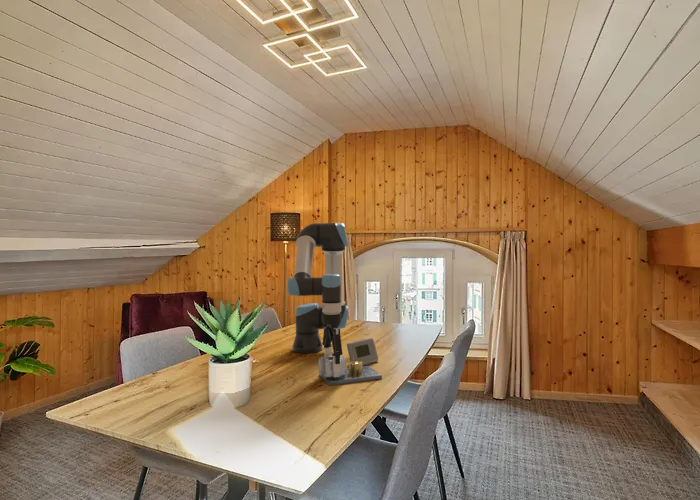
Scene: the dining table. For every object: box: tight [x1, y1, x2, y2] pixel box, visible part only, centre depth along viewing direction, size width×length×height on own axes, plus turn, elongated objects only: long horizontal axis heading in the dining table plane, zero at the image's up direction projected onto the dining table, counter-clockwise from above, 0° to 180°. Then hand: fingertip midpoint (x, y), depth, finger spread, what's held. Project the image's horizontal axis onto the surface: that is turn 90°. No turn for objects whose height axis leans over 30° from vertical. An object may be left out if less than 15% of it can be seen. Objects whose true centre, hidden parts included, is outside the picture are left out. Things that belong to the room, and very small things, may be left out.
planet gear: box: [317, 354, 347, 378], centre depth 170 cm, size 11×11×6 cm
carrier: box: [318, 360, 383, 386], centre depth 173 cm, size 14×22×6 cm, turn 110°
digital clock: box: [346, 337, 379, 366], centre depth 192 cm, size 16×9×11 cm, turn 122°
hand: (332, 367), depth 170 cm, fingers open, 11 cm apart
